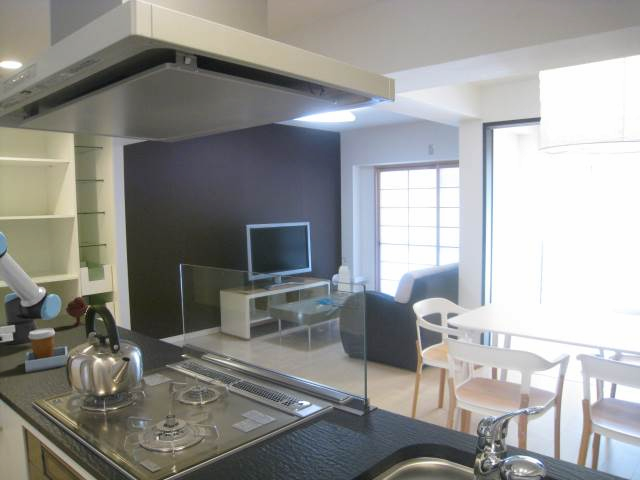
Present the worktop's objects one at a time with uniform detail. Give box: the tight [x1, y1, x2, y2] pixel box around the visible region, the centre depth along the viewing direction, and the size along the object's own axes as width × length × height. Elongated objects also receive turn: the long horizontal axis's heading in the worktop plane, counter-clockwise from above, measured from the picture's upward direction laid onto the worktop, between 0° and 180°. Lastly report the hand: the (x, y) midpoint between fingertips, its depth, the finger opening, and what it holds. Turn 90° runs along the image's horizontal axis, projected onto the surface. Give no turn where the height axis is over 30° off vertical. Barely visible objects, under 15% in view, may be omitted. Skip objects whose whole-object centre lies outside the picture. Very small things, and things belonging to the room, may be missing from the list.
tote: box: [24, 346, 69, 373], centre depth 201 cm, size 15×15×4 cm
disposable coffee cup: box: [28, 327, 56, 360], centre depth 202 cm, size 10×10×12 cm
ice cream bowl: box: [65, 296, 90, 327], centre depth 266 cm, size 11×11×15 cm
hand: (13, 332), depth 195 cm, fingers open, 13 cm apart
